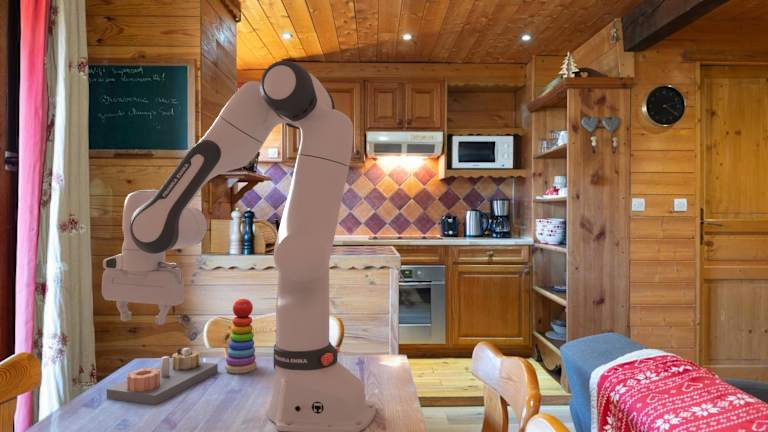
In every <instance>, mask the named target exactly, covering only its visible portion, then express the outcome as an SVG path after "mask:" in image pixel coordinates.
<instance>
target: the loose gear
mask: <svg viewBox="0 0 768 432" xmlns="http://www.w3.org/2000/svg"><path fill="white" fill-rule="evenodd" d="M156 368H157V367H152V368H148V367H146V368H142V369H136V370H135V369H134V370H133V371H132V372H131V371H130V372H128V373H127V375H126V381H127V390H130V391H132V392H134V391H139V392H141V391H144V390H151V389H154V387H158V386H159V384H160V370H159V369H158V370H156Z"/></svg>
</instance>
